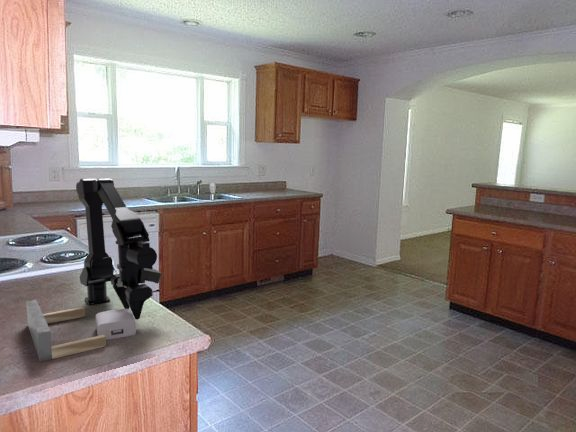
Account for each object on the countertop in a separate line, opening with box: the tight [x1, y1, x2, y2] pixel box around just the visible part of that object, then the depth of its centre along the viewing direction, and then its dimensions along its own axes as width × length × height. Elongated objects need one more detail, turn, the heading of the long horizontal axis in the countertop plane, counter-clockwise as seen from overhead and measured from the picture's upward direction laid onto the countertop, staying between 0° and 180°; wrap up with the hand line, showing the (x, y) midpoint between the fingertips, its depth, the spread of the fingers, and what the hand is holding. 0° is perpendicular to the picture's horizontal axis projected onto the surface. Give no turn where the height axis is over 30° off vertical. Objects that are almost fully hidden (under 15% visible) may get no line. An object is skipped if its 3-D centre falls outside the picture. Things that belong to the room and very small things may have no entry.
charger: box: [95, 308, 137, 341], centre depth 118 cm, size 5×9×15 cm
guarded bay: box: [25, 299, 107, 363], centre depth 112 cm, size 25×14×7 cm, turn 37°
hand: (132, 314), depth 123 cm, fingers open, 9 cm apart
